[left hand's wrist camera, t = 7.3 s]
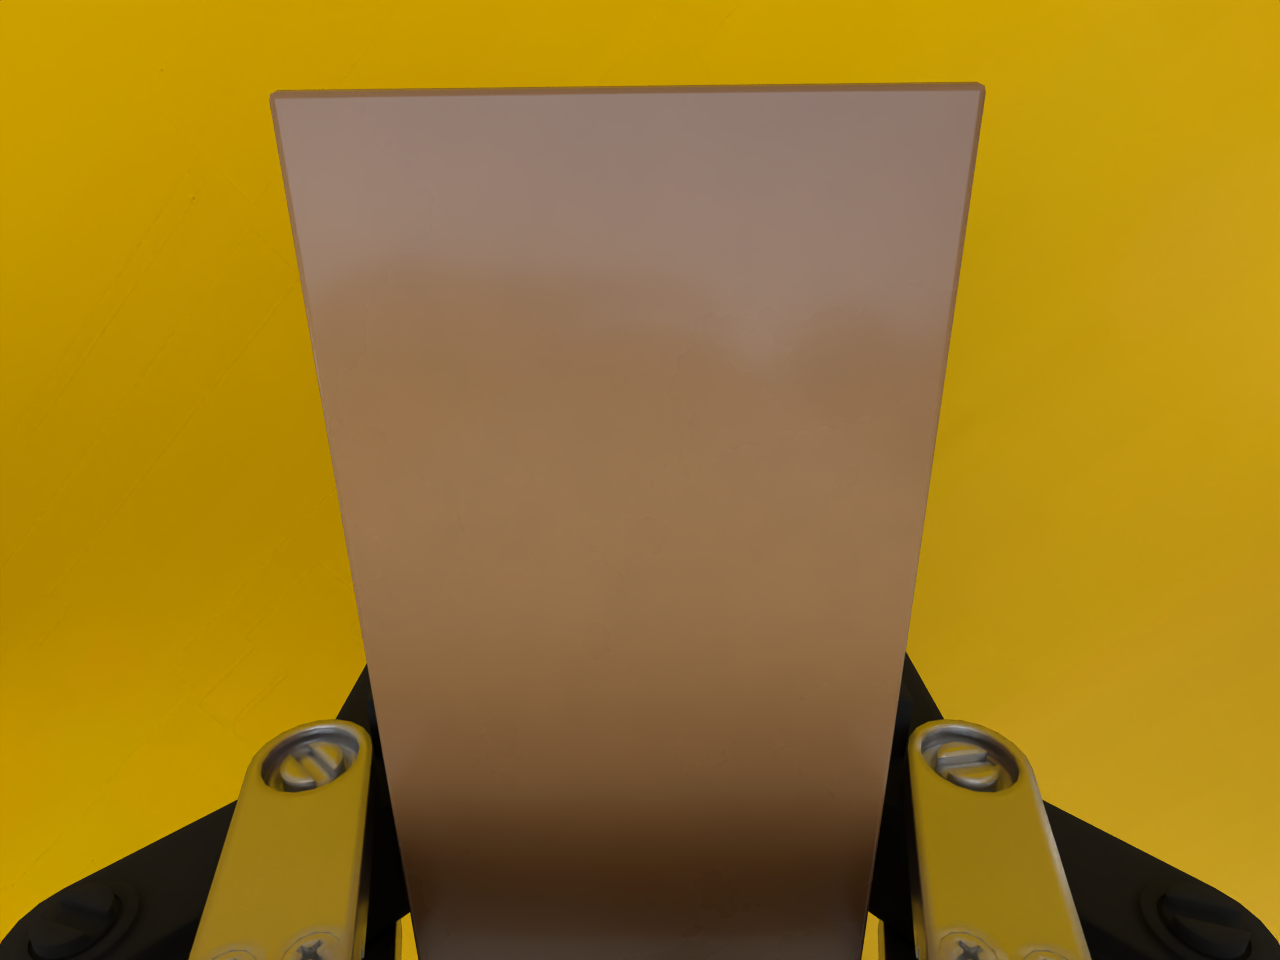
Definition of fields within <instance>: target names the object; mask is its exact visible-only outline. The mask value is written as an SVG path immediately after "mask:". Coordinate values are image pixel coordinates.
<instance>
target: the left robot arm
mask: <svg viewBox="0 0 1280 960" xmlns="http://www.w3.org/2000/svg"><path fill="white" fill-rule="evenodd" d="M868 911H869V912H870V913H872V914H873V915H874V916H876V917H877V918H879V925H878V952H879V960H1280V945H1279V943H1278V941H1277V940H1276V938H1275V937H1274V936H1273V935H1272V934H1271V932H1270V931H1269V930H1268V929H1267V928H1266V927H1265V925H1264V924H1263V923H1262V922H1261V921H1260V920H1259V919H1258V918H1257V917H1256V916H1254V915H1253V914H1252V913H1251V912H1250V911H1248V910H1247V909H1246V908H1245V907H1244V906H1242V905H1241V904H1240V903H1239V902H1237V901H1235V900H1234V899H1232V898H1230V897H1229V896H1227V895H1226V894H1224V893H1222V892H1221V891H1219V890H1217V889H1216V888H1214V887H1212V886H1210V885H1208V884H1206V883H1204V882H1202V881H1200V880H1198V879H1196V878H1194V877H1192V876H1190V875H1188V874H1186V873H1184V872H1183V871H1181V870H1179V869H1177V868H1175V867H1173V866H1171V865H1169V864H1167V863H1165V862H1163V861H1161V860H1159V859H1157V858H1155V857H1153V856H1151V855H1149V854H1147V853H1145V852H1143V851H1141V850H1139V849H1138V848H1136V847H1134V846H1132V845H1130V844H1128V843H1126V842H1124V841H1122V840H1120V839H1118V838H1116V837H1114V836H1112V835H1110V834H1108V833H1106V832H1104V831H1102V830H1100V829H1098V828H1096V827H1094V826H1093V825H1091V824H1089V823H1087V822H1085V821H1083V820H1081V819H1079V818H1077V817H1075V816H1073V815H1071V814H1069V813H1067V812H1065V811H1063V810H1061V809H1059V808H1057V807H1055V806H1053V805H1051V804H1049V803H1048V802H1046V801H1044V800H1042V798H1041V794H1040V791H1039V788H1038V785H1037V781H1036V778H1035V775H1034V772H1033V769H1032V767H1031V765H1030V763H1029V761H1028V759H1027V757H1026V755H1025V754H1024V753H1023V752H1022V751H1021V750H1020V749H1019V748H1018V747H1017V746H1016V745H1015V744H1014V743H1012V742H1011V741H1009V740H1008V739H1006V738H1005V737H1003V736H1002V735H1000V734H999V733H997V732H995V731H993V730H990V729H988V728H986V727H983V726H981V725H978V724H974V723H970V722H966V721H962V720H947V719H944V718H943V717H942V715H941V713H940V711H939V709H938V708H937V706H936V704H935V702H934V701H933V699H932V697H931V695H930V693H929V692H928V690H927V688H926V686H925V685H924V683H923V681H922V679H921V678H920V676H919V674H918V672H917V670H916V669H915V667H914V665H913V663H912V662H911V660H910V658H909V656H908V654H907V653H906V651H905V658H904V665H903V672H902V679H901V686H900V693H899V700H898V707H897V714H896V720H895V727H894V734H893V741H892V748H891V755H890V762H889V769H888V776H887V783H886V790H885V797H884V804H883V811H882V818H881V825H880V832H879V839H878V846H877V853H876V860H875V867H874V874H873V881H872V888H871V895H870V902H869V909H868ZM409 912H410V908H409V902H408V897H407V891H406V885H405V879H404V873H403V868H402V862H401V856H400V850H399V845H398V839H397V833H396V827H395V822H394V816H393V810H392V804H391V798H390V793H389V787H388V781H387V775H386V770H385V764H384V758H383V752H382V747H381V741H380V735H379V729H378V724H377V718H376V712H375V706H374V700H373V695H372V689H371V683H370V677H369V672H368V666H367V664H366V666H365V668H364V670H363V671H362V673H361V675H360V677H359V678H358V680H357V682H356V684H355V686H354V687H353V689H352V691H351V693H350V694H349V696H348V698H347V700H346V701H345V703H344V705H343V707H342V709H341V710H340V712H339V714H338V716H337V717H336V719H333V720H318V721H314V722H310V723H306V724H302V725H299V726H297V727H294V728H292V729H290V730H287V731H285V732H283V733H281V734H280V735H278V736H277V737H275V738H274V739H272V740H271V741H269V742H268V743H266V744H265V745H264V746H263V747H262V748H261V749H260V750H259V751H258V752H257V753H256V754H255V755H254V757H253V759H252V761H251V763H250V765H249V767H248V769H247V772H246V775H245V778H244V781H243V785H242V788H241V791H240V794H239V798H238V800H236V801H234V802H232V803H230V804H228V805H226V806H224V807H222V808H220V809H218V810H216V811H214V812H212V813H211V814H209V815H207V816H205V817H203V818H201V819H199V820H197V821H195V822H193V823H191V824H189V825H187V826H185V827H183V828H181V829H179V830H177V831H175V832H173V833H171V834H169V835H168V836H166V837H164V838H162V839H160V840H158V841H156V842H154V843H152V844H150V845H148V846H146V847H144V848H142V849H140V850H138V851H136V852H134V853H132V854H130V855H128V856H126V857H124V858H123V859H121V860H119V861H117V862H115V863H113V864H111V865H109V866H107V867H105V868H103V869H101V870H99V871H97V872H95V873H93V874H91V875H89V876H87V877H85V878H83V879H81V880H79V881H78V882H76V883H74V884H72V885H70V886H68V887H66V888H64V889H62V890H61V891H59V892H57V893H56V894H54V895H52V896H51V897H49V898H47V899H46V900H44V901H43V902H41V903H39V904H38V905H37V906H36V907H35V908H34V909H32V910H31V911H30V912H29V913H28V914H26V915H25V916H24V917H23V918H22V919H20V920H19V921H18V922H17V924H16V925H15V926H14V927H13V928H12V929H11V931H10V932H9V933H8V934H7V935H6V937H5V938H4V939H3V940H2V942H1V944H0V960H401V952H402V925H401V918H402V917H404V916H405V915H406V914H408V913H409Z"/></svg>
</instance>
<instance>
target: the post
mask: <svg viewBox="0 0 1280 960" xmlns="http://www.w3.org/2000/svg"><path fill="white" fill-rule="evenodd" d="M985 93H986V92H985V86H984V85H982V84H980V83H978V82H927V83H842V84H757V85H673V86H588V87H503V88H418V89H333V90H277V91H275V92H273V93H271V94H270V107H271V112H272V118H273V124H274V130H275V135H276V141H277V147H278V153H279V158H280V164H281V170H282V176H283V182H284V187H285V193H286V199H287V205H288V210H289V216H290V222H291V228H292V233H293V239H294V245H295V251H296V256H297V262H298V268H299V274H300V280H301V285H302V291H303V297H304V303H305V308H306V314H307V320H308V326H309V331H310V337H311V343H312V349H313V355H314V360H315V366H316V372H317V378H318V383H319V389H320V395H321V401H322V406H323V412H324V418H325V424H326V429H327V435H328V441H329V447H330V453H331V458H332V464H333V470H334V476H335V481H336V487H337V493H338V499H339V504H340V510H341V516H342V522H343V527H344V533H345V539H346V545H347V551H348V556H349V562H350V568H351V574H352V579H353V585H354V591H355V597H356V602H357V608H358V614H359V620H360V626H361V631H362V637H363V643H364V649H365V654H366V660H367V666H368V672H369V677H370V683H371V689H372V695H373V700H374V706H375V712H376V718H377V724H378V729H379V735H380V741H381V747H382V752H383V758H384V764H385V770H386V775H387V781H388V787H389V793H390V798H391V804H392V810H393V816H394V822H395V827H396V833H397V839H398V845H399V850H400V856H401V862H402V868H403V873H404V879H405V885H406V891H407V897H408V902H409V908H410V914H411V920H412V925H413V931H414V937H415V943H416V948H417V954H418V960H861V957H862V951H863V944H864V937H865V930H866V923H867V916H868V909H869V902H870V895H871V888H872V881H873V874H874V867H875V860H876V853H877V846H878V839H879V832H880V825H881V818H882V811H883V804H884V797H885V790H886V783H887V776H888V769H889V762H890V755H891V748H892V741H893V734H894V727H895V720H896V714H897V707H898V700H899V693H900V686H901V679H902V672H903V665H904V658H905V651H906V644H907V637H908V630H909V623H910V616H911V609H912V602H913V595H914V588H915V581H916V574H917V567H918V560H919V553H920V546H921V539H922V532H923V525H924V518H925V511H926V504H927V497H928V490H929V483H930V476H931V470H932V463H933V456H934V449H935V442H936V435H937V428H938V421H939V414H940V407H941V400H942V393H943V386H944V379H945V372H946V365H947V358H948V351H949V344H950V337H951V330H952V323H953V316H954V309H955V302H956V295H957V288H958V281H959V274H960V267H961V260H962V253H963V246H964V239H965V232H966V226H967V219H968V212H969V205H970V198H971V191H972V184H973V177H974V170H975V163H976V156H977V149H978V142H979V135H980V128H981V121H982V114H983V107H984V100H985Z"/></svg>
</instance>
